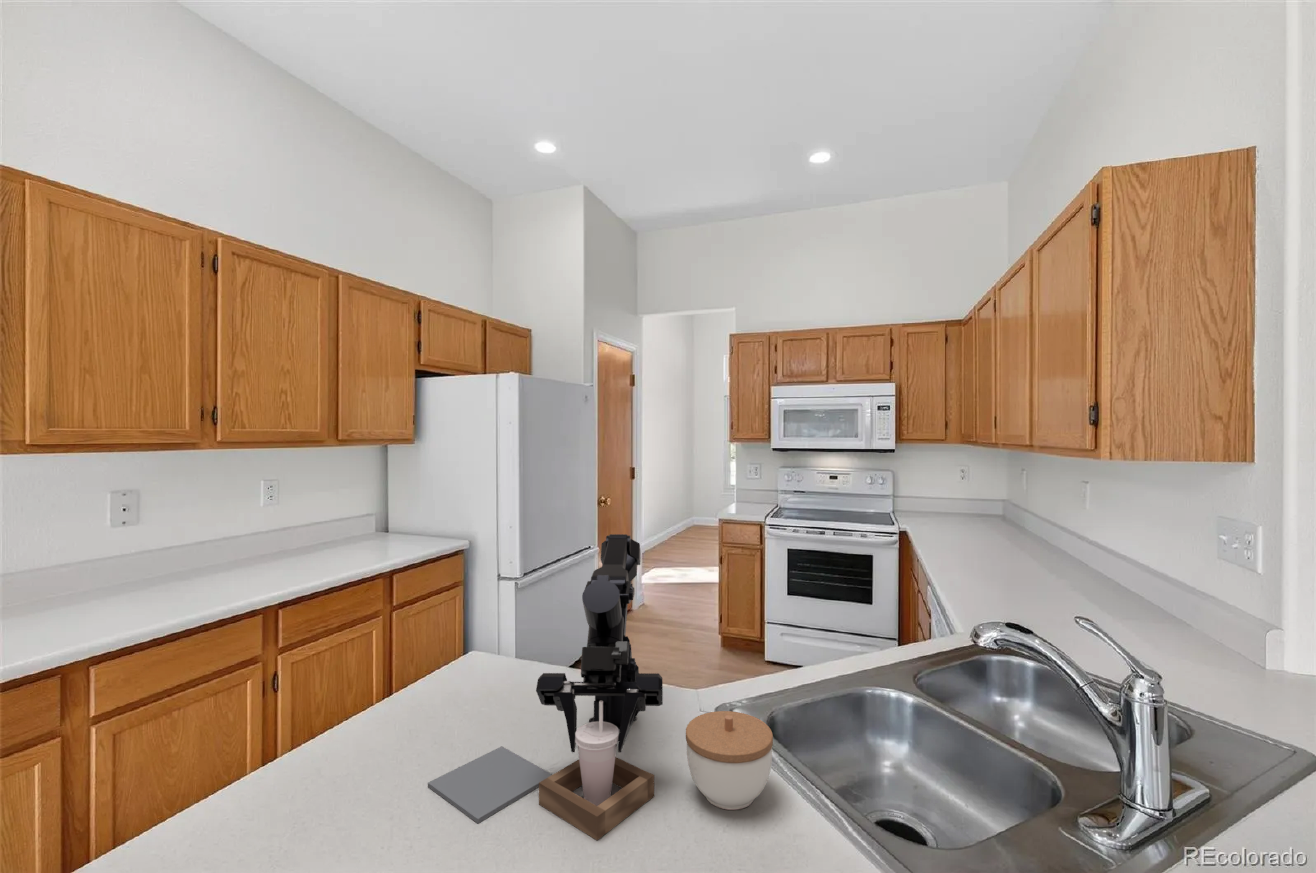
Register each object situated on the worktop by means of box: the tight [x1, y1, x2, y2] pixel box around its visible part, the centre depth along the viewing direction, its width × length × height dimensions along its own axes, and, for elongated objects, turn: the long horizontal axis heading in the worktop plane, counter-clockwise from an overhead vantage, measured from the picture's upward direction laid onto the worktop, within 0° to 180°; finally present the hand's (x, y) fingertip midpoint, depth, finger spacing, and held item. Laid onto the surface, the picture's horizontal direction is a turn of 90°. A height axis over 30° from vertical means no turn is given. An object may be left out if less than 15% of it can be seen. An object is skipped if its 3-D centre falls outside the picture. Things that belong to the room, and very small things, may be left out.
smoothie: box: [575, 701, 620, 806], centre depth 79 cm, size 6×6×14 cm
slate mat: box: [427, 746, 554, 824], centre depth 83 cm, size 13×13×1 cm
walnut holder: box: [538, 756, 655, 841], centre depth 78 cm, size 12×12×3 cm
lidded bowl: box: [685, 710, 774, 811], centre depth 80 cm, size 13×13×11 cm
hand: (596, 751), depth 77 cm, fingers closed on smoothie, 6 cm apart
